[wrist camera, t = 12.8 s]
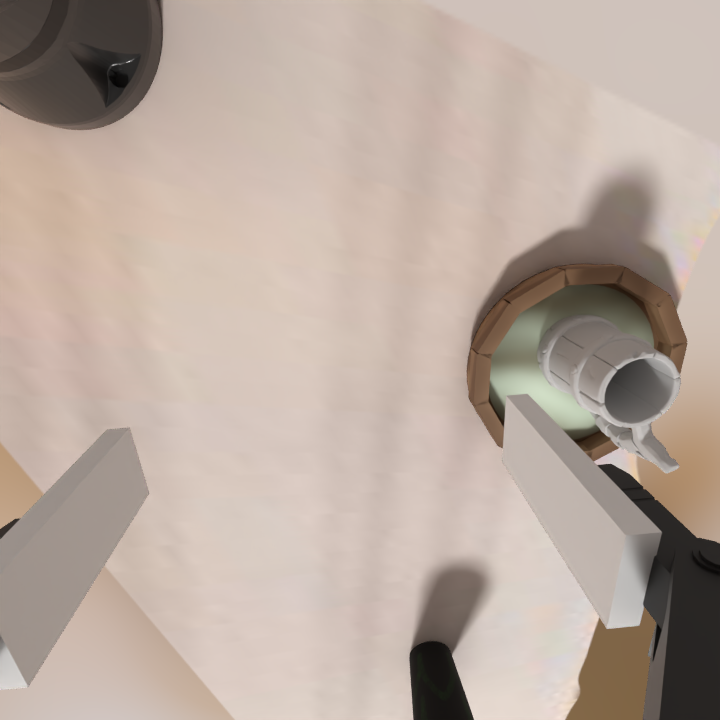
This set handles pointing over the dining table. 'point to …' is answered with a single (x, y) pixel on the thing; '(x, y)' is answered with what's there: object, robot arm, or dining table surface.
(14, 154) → the dining table surface
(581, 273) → the tray
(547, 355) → the mug
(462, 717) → the cup
